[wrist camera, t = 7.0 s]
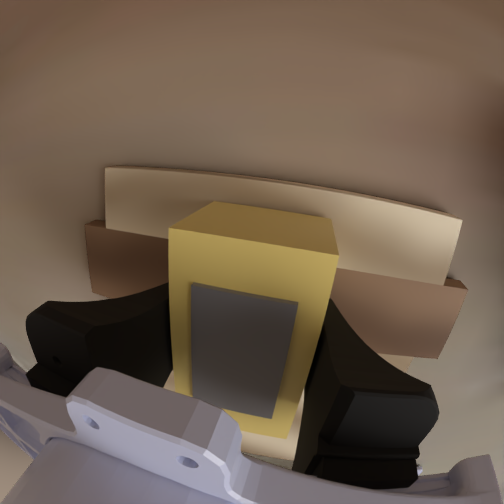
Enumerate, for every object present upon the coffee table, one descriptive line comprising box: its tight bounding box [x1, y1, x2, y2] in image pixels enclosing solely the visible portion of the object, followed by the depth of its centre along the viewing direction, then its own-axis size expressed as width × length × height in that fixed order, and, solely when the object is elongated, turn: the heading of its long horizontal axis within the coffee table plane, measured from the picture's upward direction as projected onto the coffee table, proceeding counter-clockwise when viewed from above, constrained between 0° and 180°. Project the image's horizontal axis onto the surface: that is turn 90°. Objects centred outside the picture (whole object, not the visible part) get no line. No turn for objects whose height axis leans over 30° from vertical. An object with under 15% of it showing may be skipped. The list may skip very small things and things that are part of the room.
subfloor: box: [85, 166, 468, 461], centre depth 15 cm, size 18×19×1 cm
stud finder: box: [168, 201, 339, 439], centre depth 11 cm, size 8×5×4 cm, turn 174°
